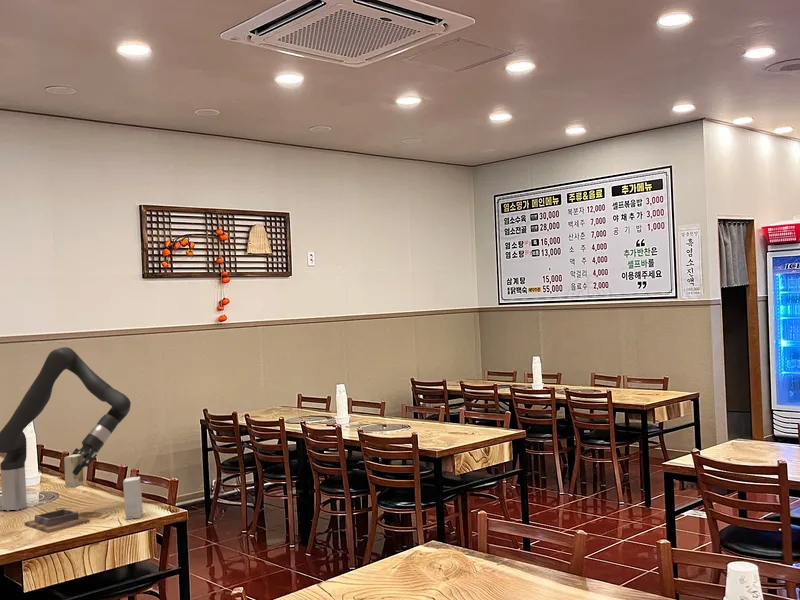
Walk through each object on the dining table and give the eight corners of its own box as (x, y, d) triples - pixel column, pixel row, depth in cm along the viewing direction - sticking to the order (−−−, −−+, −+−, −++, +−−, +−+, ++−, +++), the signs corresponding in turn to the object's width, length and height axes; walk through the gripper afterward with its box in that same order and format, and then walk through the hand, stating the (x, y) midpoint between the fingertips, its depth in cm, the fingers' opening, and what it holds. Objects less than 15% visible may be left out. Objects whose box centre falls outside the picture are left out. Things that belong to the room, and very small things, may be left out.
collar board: (24, 525, 304) (23, 515, 304) (64, 515, 317) (64, 506, 317) (48, 532, 291) (47, 522, 291) (89, 522, 303) (89, 512, 303)
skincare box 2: (141, 518, 305) (139, 479, 306) (124, 520, 304) (122, 481, 304) (143, 513, 314) (141, 475, 314) (127, 514, 312) (125, 477, 312)
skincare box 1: (74, 488, 309) (73, 457, 309) (64, 488, 310) (63, 457, 310) (84, 484, 315) (83, 453, 315) (74, 484, 316) (73, 453, 316)
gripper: (81, 431, 323) (54, 466, 314) (99, 434, 314) (72, 469, 305) (93, 442, 327) (67, 476, 318) (112, 445, 318) (85, 480, 309)
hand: (70, 473), depth 311 cm, fingers closed on skincare box 1, 6 cm apart
